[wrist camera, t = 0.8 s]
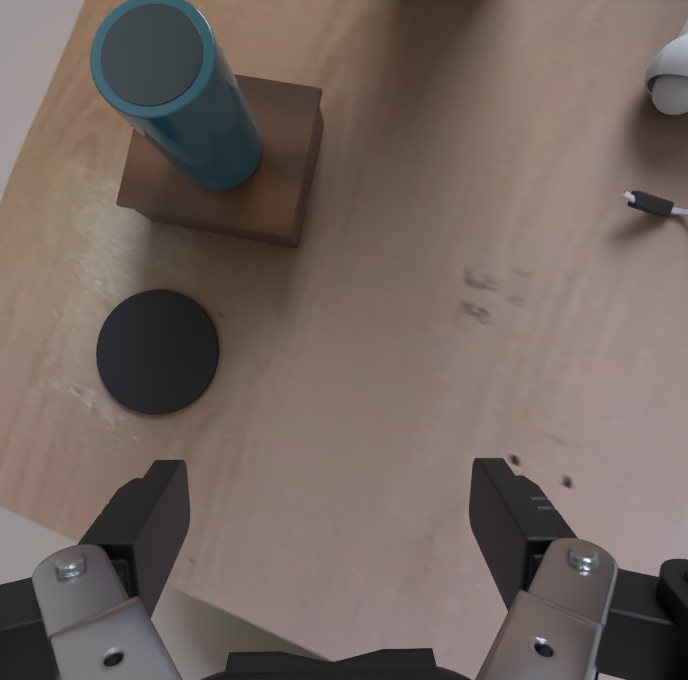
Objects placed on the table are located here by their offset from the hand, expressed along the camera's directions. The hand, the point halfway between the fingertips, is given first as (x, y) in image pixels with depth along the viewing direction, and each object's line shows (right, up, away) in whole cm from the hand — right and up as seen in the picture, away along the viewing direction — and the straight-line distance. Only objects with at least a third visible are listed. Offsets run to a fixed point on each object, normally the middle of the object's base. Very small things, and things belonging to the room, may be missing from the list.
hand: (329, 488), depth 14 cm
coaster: (-14, +3, +25) cm, 28 cm away
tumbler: (-8, +18, +20) cm, 28 cm away
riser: (-8, +17, +25) cm, 31 cm away
